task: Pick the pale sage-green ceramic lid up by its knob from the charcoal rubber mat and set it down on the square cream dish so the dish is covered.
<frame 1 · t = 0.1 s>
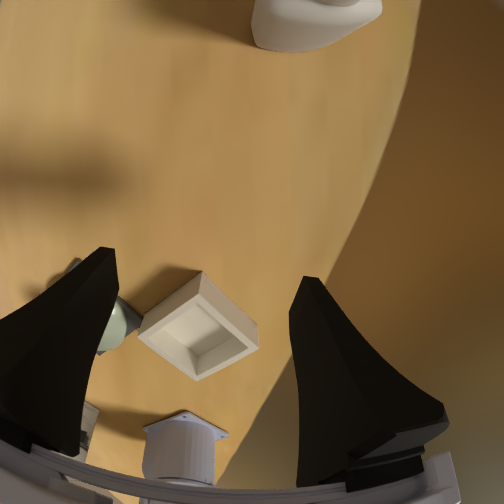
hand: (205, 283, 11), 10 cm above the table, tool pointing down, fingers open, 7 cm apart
lid: (88, 314, 24), resting on mat
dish: (200, 320, 25), on the table
mat: (89, 311, 24), on the table
eye dropper bottle: (293, 31, 15), on the table
ink box: (75, 406, 32), on the table
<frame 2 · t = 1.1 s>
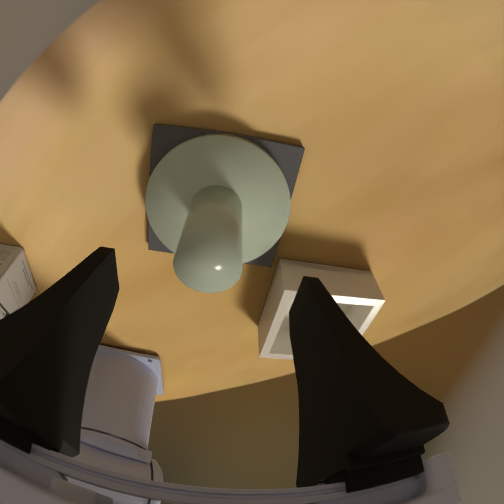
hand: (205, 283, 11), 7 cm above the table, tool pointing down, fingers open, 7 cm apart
lid: (217, 202, 17), resting on mat
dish: (312, 301, 22), on the table
mat: (218, 199, 17), on the table
ink box: (0, 261, 19), on the table
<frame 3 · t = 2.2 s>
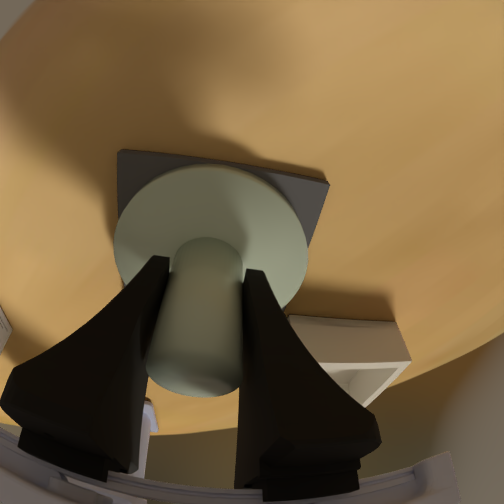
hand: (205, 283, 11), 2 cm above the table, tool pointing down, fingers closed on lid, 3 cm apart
lid: (209, 254, 12), resting on mat, touching gripper
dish: (325, 354, 18), on the table
mat: (210, 248, 13), on the table
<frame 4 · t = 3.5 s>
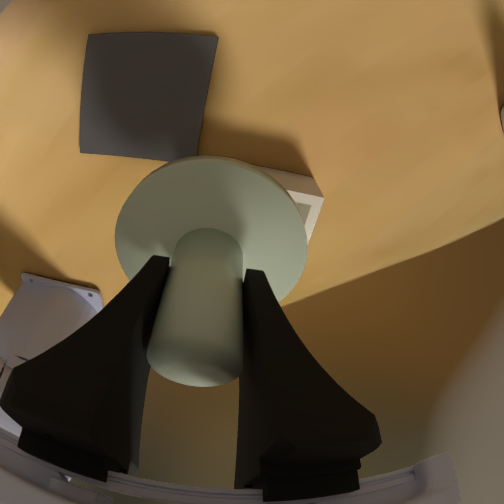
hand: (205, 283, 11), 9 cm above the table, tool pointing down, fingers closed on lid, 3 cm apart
lid: (210, 245, 13), point 7 cm above the table, touching gripper
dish: (249, 214, 20), on the table
mat: (140, 94, 15), on the table
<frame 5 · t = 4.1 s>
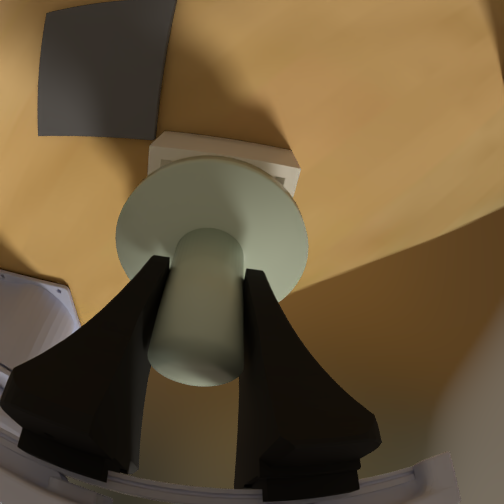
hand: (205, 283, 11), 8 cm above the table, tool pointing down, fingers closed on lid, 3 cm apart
lid: (210, 245, 13), point 5 cm above the table, touching gripper
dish: (218, 195, 17), on the table
mat: (96, 68, 12), on the table
when the fingers open (6 cm above the table, at t = 4.7 s): lid stays where it is, resting on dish.
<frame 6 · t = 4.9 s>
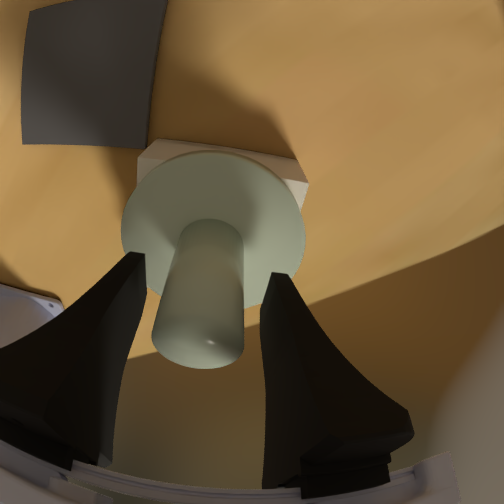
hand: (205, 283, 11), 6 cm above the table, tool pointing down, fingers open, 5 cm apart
lid: (212, 237, 13), point 3 cm above the table, touching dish
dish: (216, 209, 16), on the table
mat: (82, 70, 11), on the table
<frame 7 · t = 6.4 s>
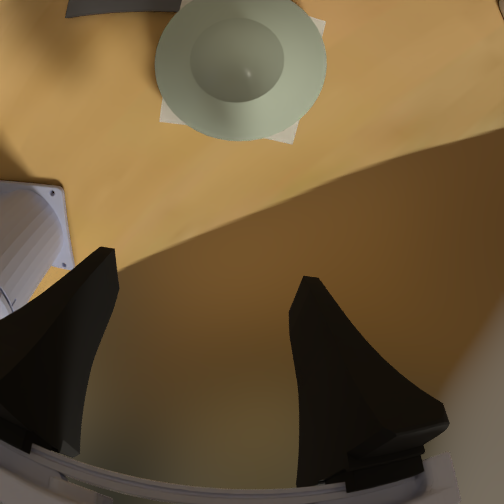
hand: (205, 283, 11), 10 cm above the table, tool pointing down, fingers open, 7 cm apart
lid: (240, 61, 12), point 3 cm above the table, touching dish
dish: (240, 65, 15), on the table
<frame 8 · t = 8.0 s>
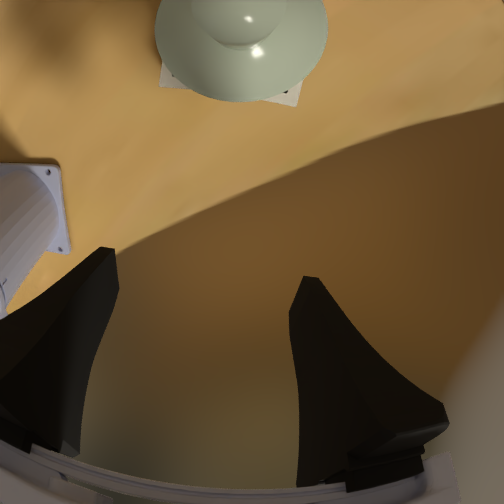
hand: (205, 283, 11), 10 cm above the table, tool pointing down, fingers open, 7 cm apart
lid: (241, 25, 11), point 3 cm above the table, touching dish
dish: (241, 35, 13), on the table
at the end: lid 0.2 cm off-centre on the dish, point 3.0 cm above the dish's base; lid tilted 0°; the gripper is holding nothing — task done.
